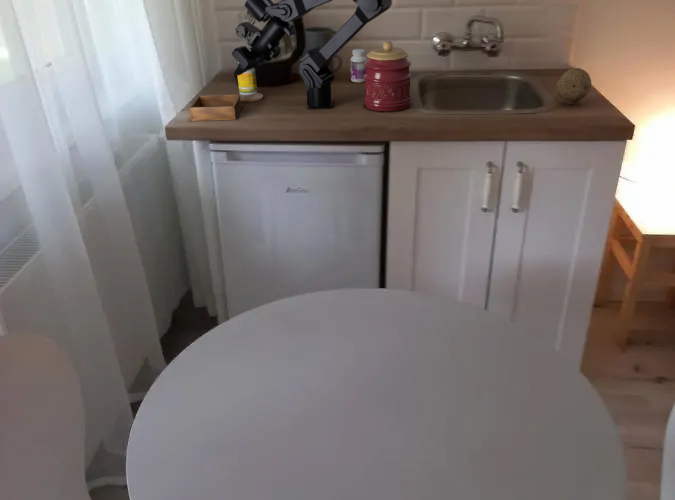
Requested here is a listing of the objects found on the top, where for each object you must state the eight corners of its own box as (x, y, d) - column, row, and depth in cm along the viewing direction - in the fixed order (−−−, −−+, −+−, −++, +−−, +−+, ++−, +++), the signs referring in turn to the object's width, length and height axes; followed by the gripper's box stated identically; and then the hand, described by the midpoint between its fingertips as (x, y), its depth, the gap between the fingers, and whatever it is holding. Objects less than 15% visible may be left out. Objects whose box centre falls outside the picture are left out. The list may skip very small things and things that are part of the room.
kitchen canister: (395, 96, 185) (396, 34, 176) (418, 107, 175) (421, 42, 166) (356, 103, 180) (355, 39, 172) (377, 114, 170) (378, 48, 161)
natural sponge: (589, 110, 169) (596, 72, 164) (555, 108, 171) (560, 71, 166) (586, 100, 176) (592, 64, 171) (553, 99, 178) (558, 63, 173)
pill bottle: (348, 79, 205) (348, 49, 200) (363, 77, 206) (363, 47, 201) (353, 83, 200) (353, 52, 195) (369, 81, 201) (369, 50, 197)
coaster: (264, 93, 192) (264, 92, 192) (261, 101, 184) (261, 100, 184) (235, 94, 192) (235, 92, 192) (231, 102, 185) (231, 101, 184)
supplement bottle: (239, 91, 190) (236, 59, 185) (257, 90, 190) (254, 58, 185) (239, 96, 185) (235, 63, 180) (257, 94, 185) (253, 61, 181)
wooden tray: (241, 106, 181) (240, 94, 179) (235, 119, 170) (234, 106, 168) (199, 107, 181) (197, 95, 179) (190, 120, 170) (188, 107, 168)
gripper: (268, 7, 182) (240, 45, 192) (233, 18, 168) (205, 58, 177) (294, 36, 183) (265, 72, 193) (262, 49, 169) (232, 87, 178)
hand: (242, 71), depth 185 cm, fingers closed on supplement bottle, 5 cm apart
